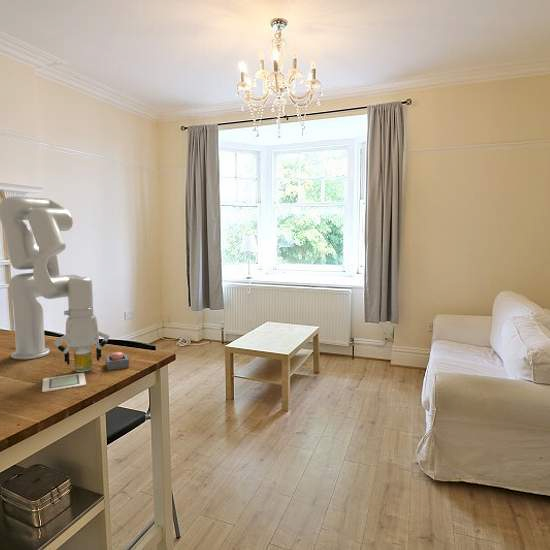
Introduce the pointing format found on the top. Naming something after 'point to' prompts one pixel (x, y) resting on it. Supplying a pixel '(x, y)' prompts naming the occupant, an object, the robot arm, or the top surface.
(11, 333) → the top surface
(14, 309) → the robot arm
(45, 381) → the cream and green mat
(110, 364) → the button base
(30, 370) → the top surface
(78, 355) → the supplement bottle
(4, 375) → the top surface
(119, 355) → the button
